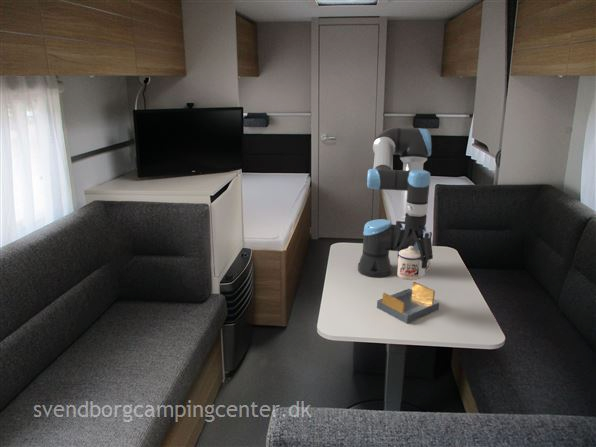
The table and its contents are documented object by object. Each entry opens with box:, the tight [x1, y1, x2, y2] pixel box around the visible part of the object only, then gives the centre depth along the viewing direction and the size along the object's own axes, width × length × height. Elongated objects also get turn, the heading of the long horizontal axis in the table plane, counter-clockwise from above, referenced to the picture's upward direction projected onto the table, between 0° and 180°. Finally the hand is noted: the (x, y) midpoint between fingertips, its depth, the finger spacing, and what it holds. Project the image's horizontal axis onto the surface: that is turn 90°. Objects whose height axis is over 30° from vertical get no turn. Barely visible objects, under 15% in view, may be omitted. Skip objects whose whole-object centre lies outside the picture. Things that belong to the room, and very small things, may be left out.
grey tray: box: [376, 281, 440, 324], centre depth 192 cm, size 15×18×7 cm
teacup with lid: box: [396, 246, 432, 281], centre depth 186 cm, size 12×9×12 cm
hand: (411, 271), depth 188 cm, fingers closed on teacup with lid, 9 cm apart
